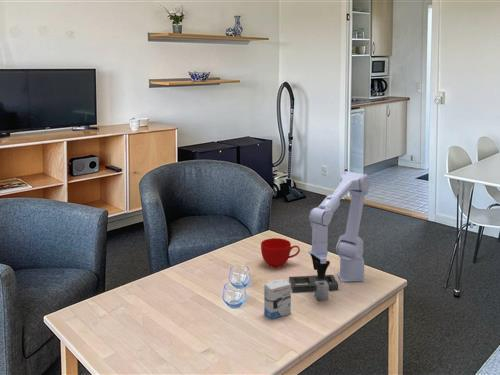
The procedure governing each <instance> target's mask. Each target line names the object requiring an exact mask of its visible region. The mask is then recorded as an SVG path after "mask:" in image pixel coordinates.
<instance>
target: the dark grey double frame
mask: <svg viewBox="0 0 500 375" xmlns="http://www.w3.org/2000/svg"><path fill="white" fill-rule="evenodd" d="M314 281H327V283H328V285H329V292H330V291H339V282H338V281H337V280H336V277H335V276H334V274H325V277H324V279H318V275H299V276H297V275H296V276H288V282H289V283H290V284H291V293H308V292H314Z"/></svg>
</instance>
